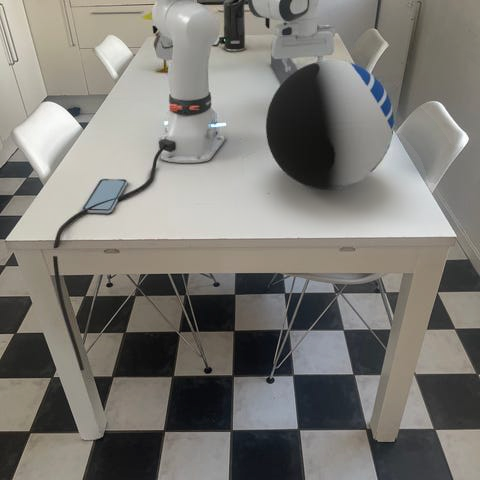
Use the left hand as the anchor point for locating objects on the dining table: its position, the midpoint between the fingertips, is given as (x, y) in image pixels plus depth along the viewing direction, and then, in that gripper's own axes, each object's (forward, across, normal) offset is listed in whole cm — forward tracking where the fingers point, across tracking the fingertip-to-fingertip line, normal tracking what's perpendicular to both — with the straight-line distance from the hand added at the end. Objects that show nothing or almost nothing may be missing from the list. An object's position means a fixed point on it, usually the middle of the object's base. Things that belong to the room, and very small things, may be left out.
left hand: (301, 70), depth 170 cm
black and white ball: (+11, +6, +56) cm, 57 cm away
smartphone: (+10, +61, +55) cm, 83 cm away
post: (+12, +1, -20) cm, 23 cm away
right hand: (-4, 0, -41) cm, 41 cm away
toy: (+11, +44, -46) cm, 65 cm away
